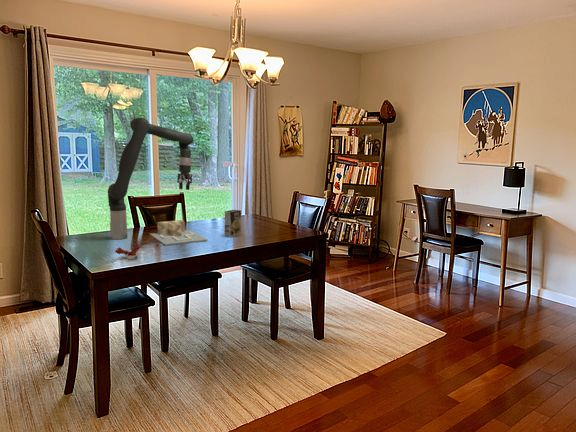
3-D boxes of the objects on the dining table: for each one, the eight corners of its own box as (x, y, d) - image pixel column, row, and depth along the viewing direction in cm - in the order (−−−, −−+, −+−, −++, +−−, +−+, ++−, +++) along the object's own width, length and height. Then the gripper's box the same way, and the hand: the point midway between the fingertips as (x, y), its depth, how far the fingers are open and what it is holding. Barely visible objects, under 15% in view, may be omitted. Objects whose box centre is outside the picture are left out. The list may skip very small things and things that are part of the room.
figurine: (123, 263, 223) (122, 250, 222) (110, 259, 230) (110, 246, 229) (149, 257, 234) (149, 244, 233) (136, 253, 241) (136, 241, 240)
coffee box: (231, 237, 283) (231, 212, 280) (224, 235, 287) (224, 210, 284) (241, 235, 290) (241, 210, 287) (234, 233, 294) (234, 209, 291)
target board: (164, 245, 258) (164, 242, 258) (149, 235, 285) (149, 232, 285) (207, 241, 272) (207, 237, 272) (189, 231, 299) (189, 228, 298)
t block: (164, 237, 275) (164, 226, 273) (157, 233, 287) (157, 222, 286) (190, 235, 283) (189, 224, 282) (182, 230, 295) (181, 220, 294)
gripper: (174, 164, 297) (173, 189, 298) (185, 164, 287) (184, 189, 288) (184, 165, 302) (183, 189, 303) (195, 165, 292) (195, 190, 293)
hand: (184, 189), depth 296 cm, fingers open, 8 cm apart
